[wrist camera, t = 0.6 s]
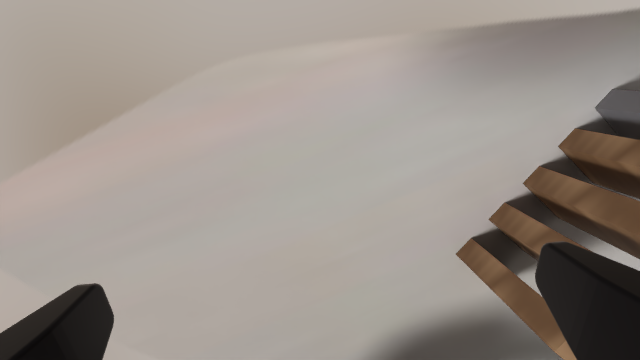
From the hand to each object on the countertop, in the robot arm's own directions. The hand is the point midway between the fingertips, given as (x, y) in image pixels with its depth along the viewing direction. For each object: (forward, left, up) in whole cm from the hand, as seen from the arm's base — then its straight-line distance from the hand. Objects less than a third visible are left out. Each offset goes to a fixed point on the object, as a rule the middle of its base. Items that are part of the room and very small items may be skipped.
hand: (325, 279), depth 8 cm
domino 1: (-13, -10, -17) cm, 24 cm away
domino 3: (-9, -16, -17) cm, 25 cm away
